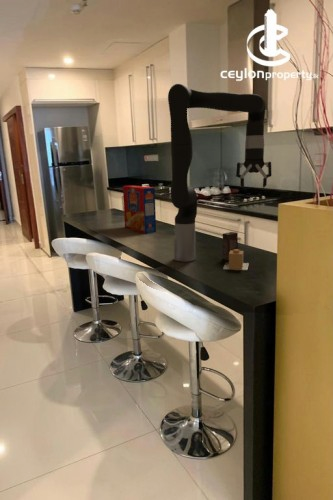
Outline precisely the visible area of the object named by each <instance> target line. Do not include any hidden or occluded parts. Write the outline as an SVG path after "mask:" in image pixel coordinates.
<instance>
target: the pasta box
mask: <svg viewBox="0 0 333 500" xmlns="http://www.w3.org/2000/svg"><path fill="white" fill-rule="evenodd" d="M122 197H123V215H124V216H123V218H124V228H125V229H128V230H131V231H134V232H137V233H140V234H143V235H147V234H148V233H149V234H153V232H156V233H157V222H156V221H157V218H156V214H157V213H156V188H155V187H151V186H141V185H131V184H130V185H122Z"/></svg>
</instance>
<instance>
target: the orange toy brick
mask: <svg viewBox="0 0 333 500" xmlns="http://www.w3.org/2000/svg"><path fill="white" fill-rule="evenodd" d="M228 262H229V267H232V268H242V267H243V263H244V250H241V249H240V248H239V249H234V250H233V251H232V250H230V252H229V260H228Z"/></svg>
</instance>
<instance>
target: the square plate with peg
mask: <svg viewBox="0 0 333 500" xmlns="http://www.w3.org/2000/svg"><path fill="white" fill-rule="evenodd" d="M249 264H250V263H249V262H243V267H242V268H232V267H229V261H225V264H224V265H223V268H222V270H223V271H224V270H227V271H243V272H245V271H247V272H248V268H249Z"/></svg>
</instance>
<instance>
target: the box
mask: <svg viewBox="0 0 333 500" xmlns="http://www.w3.org/2000/svg"><path fill="white" fill-rule="evenodd" d="M238 234H239V233H238V232H234V231H229V232H225V233H222V259H223V260H226V261H229V252H230V250H232V251H233V250H234V249H238V248H239V247H238V245H239V244H238V239H239V237H238Z"/></svg>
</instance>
